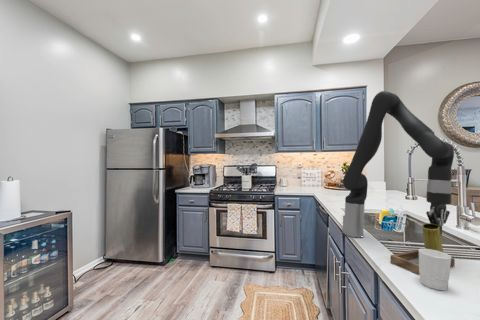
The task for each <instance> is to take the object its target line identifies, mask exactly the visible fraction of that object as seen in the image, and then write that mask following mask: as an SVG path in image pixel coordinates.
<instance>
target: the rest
mask: <svg viewBox="0 0 480 320" xmlns="http://www.w3.org/2000/svg"><path fill="white" fill-rule="evenodd" d="M419 249H420V248H418V249H414V250H410V251H409V250H408V251H405V252H400V253H399V252H398V253H394V254H390V261H389V262H390V264H392V265H395V266H397V267H400V268H402V269H405V270H406V271H409V272H411V273H414V274H417V275H419V276H420V273H419ZM455 262H456V260H455V258H453V257H451V265H450V269H452V268H454V267H455ZM453 266H454V267H453ZM451 267H452V268H451Z"/></svg>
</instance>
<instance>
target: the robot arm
mask: <svg viewBox="0 0 480 320" xmlns="http://www.w3.org/2000/svg"><path fill="white" fill-rule="evenodd" d="M370 105H371V106H370V109H369V112H368V116H367V119H366V122H365V124H364V128H363V130H362V133H361V135H360V138H359V141H358V144H357V147H356V150H355V152H354V154H353V156H352V159H351V162H350V163H349V166H348V168H347V170H346V171H345V174H344V175H343V179H342V185H343V187H344V188H345V189H346V190H347V191H349V194H348V195H346V196H345V198H344V199H345V203H344V215H342V234H343V235H345V236H348V237H350V238H355V237H361V236H363V237H364V231H365V230H364V228H365V203H366V200H367V197H368V186H369V185H368V183H369V182H368V178H367V177H366V175H365V174H363V170H364V168H365V167H366V165H367V164H368V163H369V162H370V161H371V160H372V159H373V158H374V157H375V155H376V153H378V150H379V148H380V145H381V143H382V138H383V136H382V135H383V131H382V130H383V122H384V119H385V117H386V114H387V115H389V116H391V117H393V118H394V119H395V120H396V121H397V122H398V123H399V125H400V126H401V128H402V129H403V130H404V132H405V133H406V134H407V135H408V136H409V137H410V138H411V139H412V140H413V141H415V142H416V143H417V144H418V146H419V147H420V148H421V149H422V151H423V152H424V153H425V154H426V155H427V156H428V157H430V158H431V165H430V166H429V167H428V168H427V169H428V170H427V181H426V182H427V183H426V203H430V207H429V211H426V213H425V214H426V216H427V218H428V221H429V223H432V224H436V225H438V226H439V227H440V235H441V236H442V234H443V226H444V224H446V223H447V220H448V218H449V217H450V213H451V212H450V211H451V210H448V208H447V205H451V204H452V192H453V190H452V166H453V161H454V157H455V150H454V147H453V145H451V144H450V143H448V142H445V141H443V140H442V139H440V138H439V137H438V136H437V135H435V131H434V130H432V129H431V128H430V127H429V126H428V125H427V124H425V122H423V121H422V120H421V119H419V118H418V117H417V116H416V115H414V113H412V111H410V110H409V108H407V106H406V105H405V104H404V102H403V101H402V99H400V97H399V96H398V95H397V94H396V93H394V92H390V91H387V90H381V91H379V92H378V93H376V95H375V96H374V97H373V98H372V101H371V104H370Z"/></svg>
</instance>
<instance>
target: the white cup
mask: <svg viewBox="0 0 480 320" xmlns="http://www.w3.org/2000/svg"><path fill="white" fill-rule="evenodd" d="M418 249H419V273H420V275H419V282H420V283H421V284H422V285H424V286H426V287H427V288H430V289H433V290H437V291H447V290H448V288H449V280H450V276H451V275H450V273H451V268H450V265H451V258H452V255H449V254H447V253H445V252H444V251H443V252H440V251H436V250H431V249H425V248H418Z"/></svg>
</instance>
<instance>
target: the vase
mask: <svg viewBox="0 0 480 320" xmlns="http://www.w3.org/2000/svg"><path fill="white" fill-rule="evenodd" d="M421 226H422V236H423V243H424V244H423V246H424V247H423V248H424V249H431V250H436V251H440V252H443V253H444V248H443V243H442V238H441V236H442V235H440V227H439V226H438V225H436V224H432V223H430V222H427V223H423V224H422V225H421Z"/></svg>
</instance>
